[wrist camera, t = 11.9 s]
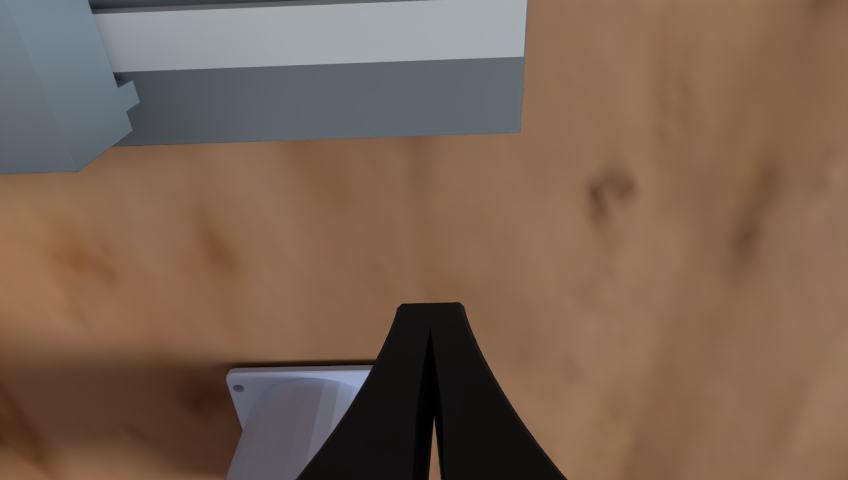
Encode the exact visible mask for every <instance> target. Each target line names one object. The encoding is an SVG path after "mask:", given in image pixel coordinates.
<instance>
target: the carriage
mask: <svg viewBox="0 0 848 480" xmlns="http://www.w3.org/2000/svg"><path fill="white" fill-rule="evenodd" d="M139 102H140V101H139V98H138V95H137V92H136V89H135V86H134V83H133V80H118V81H115V78H114V75H113V72H112V69H111V66H110V63H109V61H108V58H107V55H106V52H105V49H104V46H103V43H102V40H101V37H100V35H99V32H98V29H97V26H96V23H95V20H94V17H93V14H92V11H91V9H90V6H89V3H88V0H0V174H20V173H51V172H78V171H80V170H81V169H82V168H84V167H85V166H86V165H88V164H89V163H90V162H92V161H93V160H94V159H96V158H97V157H98V156H100V155H101V154H102V153H103V152H105V151H106V150H107V149H109V148H110V147H111V146H113V145H114V144H115V143H117V142H118V141H119V140H121V139H122V138H123V137H125V136H126V135H127V134H129V133H130V132H131V131H133V130H132V127H131V124H130V121H129V118H128V115H127V113H126V111H128V110H129V109H131V108H132V107H133V106H135V105H136V104H138V103H139Z"/></svg>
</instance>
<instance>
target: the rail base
mask: <svg viewBox="0 0 848 480" xmlns="http://www.w3.org/2000/svg"><path fill="white" fill-rule="evenodd" d="M88 3H89V6H90V9H91V11H92V14H93V17H94V20H95V23H96V26H97V29H98V32H99V35H100V37H101V40H102V43H103V46H104V49H105V52H106V55H107V58H108V61H109V63H110V66H111V69H112V72H113V75H114V78H115V81H118V80H133V83H134V86H135V89H136V92H137V95H138V98H139V101H140V102H139V103H138V104H136V105H135V106H133V107H132V108H131V109H129V110H128V111H126V113H127V115H128V118H129V121H130V124H131V127H132V130H133V131H131V132H130V133H129V134H127V135H126V136H125V137H123V138H122V139H121V140H119V141H118V142H117V143H115V144H114V145H113V146H143V145H172V144H202V143H231V142H261V141H290V140H320V139H349V138H379V137H408V136H438V135H467V134H497V133H520V131H521V114H522V98H523V81H524V64H525V47H526V30H527V13H528V0H88ZM113 146H111V147H113Z"/></svg>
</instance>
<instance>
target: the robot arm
mask: <svg viewBox="0 0 848 480" xmlns="http://www.w3.org/2000/svg"><path fill="white" fill-rule="evenodd" d="M226 382H227V385H228V388H229V391H230V394H231V397H232V400H233V403H234V406H235V409H236V412H237V415H238V418H239V421H240V424H241V427H242V430H243V431H242V434H241V437H240V440H239V442H238V445H237V448H236V451H235V454H234V456H233V459H232V462H231V465H230V468H229V470H228V473H227V476H226V479H225V480H429V469H430V458H431V446H432V435H433V423H434V419H435V428H436V437H437V447H438V456H439V465H440V474H441V480H567V479H566V477H565V476H564V475H563V474H562V473H561V472H560V471H559V469H558V468H557V467H556V466H555V464H554V463H553V462H552V461H551V459H550V458H549V457H548V456H547V454H546V453H545V452H544V451H543V449H542V448H541V447H540V445H539V444H538V443H537V441H536V440H535V439H534V437H533V436H532V434H531V433H530V432H529V430H528V429H527V428H526V426H525V425H524V423H523V422H522V420H521V419H520V417H519V416H518V414H517V413H516V411H515V410H514V408H513V407H512V405H511V404H510V402H509V400H508V399H507V397H506V396H505V394H504V392H503V391H502V389H501V387H500V386H499V384H498V382H497V381H496V379H495V377H494V375H493V373H492V371H491V370H490V368H489V366H488V364H487V362H486V360H485V358H484V356H483V354H482V352H481V350H480V348H479V346H478V344H477V342H476V339H475V337H474V335H473V332H472V330H471V327H470V325H469V322H468V319H467V316H466V312H465V308H464V306H463V305H462V304H461V303H459V302H453V303H412V304H402V305H400V306H399V307H398V308H397V312H396V315H395V318H394V321H393V324H392V326H391V329H390V331H389V334H388V336H387V338H386V340H385V343H384V345H383V347H382V349H381V351H380V353H379V355H378V357H377V359H376V361H375V363H374V365H356V366H308V367H261V368H233V369H231V370H229V372H228V374H227V376H226ZM239 385H241V386H239Z"/></svg>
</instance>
